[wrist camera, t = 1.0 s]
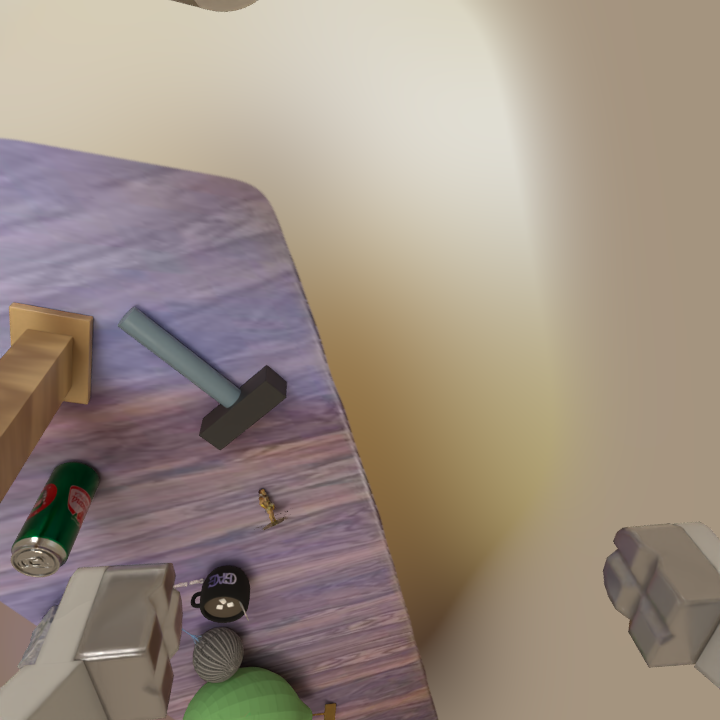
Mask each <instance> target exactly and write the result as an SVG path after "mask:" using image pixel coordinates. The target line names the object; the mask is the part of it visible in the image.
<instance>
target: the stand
mask: <svg viewBox="0 0 720 720" xmlns="http://www.w3.org/2000/svg"><path fill="white" fill-rule="evenodd" d="M9 316H10V336H11V348H10V349H9V350H8V351H7V352H6V353H5V354H4V355H3V357H2V358H1V359H0V503H1V501H2V500H3V498H4V496H5V495H6V493H7V492H8V490H9V488H10V487H11V485H12V483H13V482H14V480H15V479H16V477H17V475H18V474H19V472H20V470H21V469H22V467H23V466H24V464H25V462H26V461H27V459H28V457H29V456H30V454H31V453H32V451H33V449H34V448H35V446H36V444H37V443H38V441H39V440H40V438H41V436H42V435H43V433H44V431H45V430H46V428H47V427H48V425H49V423H50V422H51V420H52V418H53V417H54V415H55V413H56V412H57V410H58V409H59V407H60V405H61V404H62V402H63V401H66V402H73V403H80V404H88V402H89V401H90V392H91V363H92V335H93V317H92V316H86V315H81V314H75V313H70V312H64V311H59V310H53V309H47V308H42V307H36V306H31V305H25V304H20V303H12V304H11V305H10V306H9Z"/></svg>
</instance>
